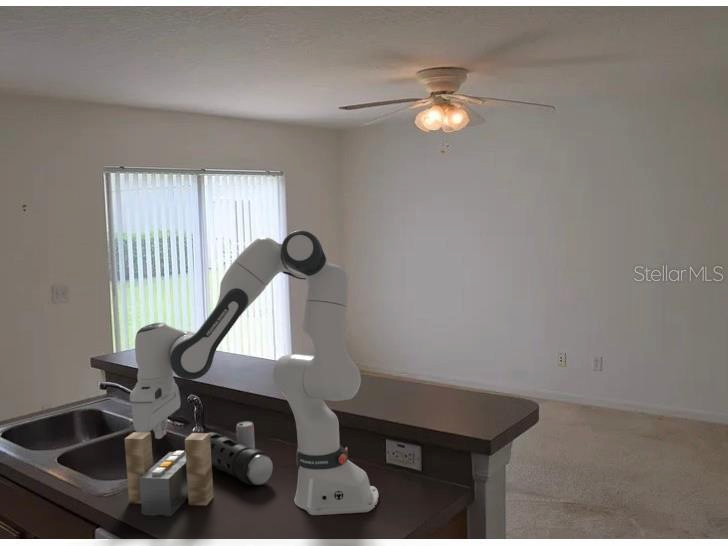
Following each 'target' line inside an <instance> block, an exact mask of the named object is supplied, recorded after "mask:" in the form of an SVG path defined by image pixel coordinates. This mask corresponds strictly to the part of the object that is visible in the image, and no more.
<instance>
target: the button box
mask: <svg viewBox="0 0 728 546" xmlns="http://www.w3.org/2000/svg"><path fill="white" fill-rule="evenodd" d="M139 480H140V494H141V503H140V504H141V515H142V514H154V515H153V516H156V515H164V516H163V517H172V516H173V514H175V513H176V512H177V510H179V508H180V507H181V506H182V505H183V504H184V503H185V502H186V500H187V499H188V484H187V468H186V453H185V450H176V451H169V452H168V453H167V454H166V455H165V456H163V457H162V458H161V459H159V461H158V462H156V463H155V464H153V467H152V468H150V469H149V470H148V471H147V472H146V473H145V474H143V475H142V476H141V477H140V478H139Z"/></svg>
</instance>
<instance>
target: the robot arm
mask: <svg viewBox="0 0 728 546" xmlns="http://www.w3.org/2000/svg"><path fill="white" fill-rule="evenodd" d="M280 273H282V274H285V275H287V276H291V277H293V278H296V279H298V280H305V281H307V294H306V301H305V308H304V313H303V318H302V319H303V320H302V326H301V327H302V332H303V334H304V335H305V336H306V338H308V339H309V340H310V341H311V342H312V344H313V349H314V355H311V354H302V353H294V354H293V353H292V354H288V355H282V356H280V357H279V358H278V359H277V361H276V362H275V364H274V365H273V368H272V381H273V384H274V386H275V388H276V389H278V390H279V391H280V393H282V394H283V396H284V398H285V399H286V400H287V402H288V404H289V407H290V408H291V411H292V413H293V416H294V420H295V426H296V434H297V437H296V438H297V449H296V455H295V456H296V466H297V467H296V468H297V471H298V473H297V485H296V492H295V496H294V504H295V505H296V506H297V507H298V508H300V509H303V510H305V511H306V512H307V513H308V514H309V515H310V516H322V515H340V514H357V513H360V514H361V513H368V512H370V511H372V510H374V508H375V507H376V506H377V504H378V502H379V499H378V498H380V497H379V491H378V489H377V487H376V486H374V485H370V479H369V477H368V474H367V472H366V470H363V469H362V468H360V467H359V466H358V465H356V464H355V463H354V462H352V461H350V460H349V458H348V446H346V447H343V446H342V445H341V444H340V430H339V429H340V425H339V419H338V416H337V415H336V414H335V412H334V411H333V410H332V409H330V407H328V405H327V404H326V403H325V401H332V402H335V401H346V400H351V399H353V398H354V397H355V396H356V395H357V393H358V391H359V389H360V386H361V383H362V376H361V371H360V369H359V368H358V366H357V364H356V363H355V362H354V361H353V360H352V358H351V357H350V355H349V353H348V349H347V347H346V343H345V325H346V316H347V315H346V314H347V309H348V308H347V307H348V302H349V301H348V298H349V279H348V278H349V277H348V276H349V275H348V273H347V271H346V270H345V269H344V268H343V267H342V266H341V265H338V264H335V263H329V262H327V257H326V253H325V252H324V249H323V246H322V244H321V242H320V240H319V238H317V236H315V234H313V233H311V232H309V231H307V230H296V231H292V232H290V233H288V235H286V237H285V238H284V240H283V241H282V243H279V242H277V241H276V240H274V239H272V238H269V237H267V236H261V237H257V238H256V239H255V240H254V241H253V242H252V243H250V244H249V245H248V246H247V247H246V248H245V249H244V250H243V251H241V253H240V254H239V255H238V256H237V258H235V260H234V261H233V262H232V263H231V264H230V266H229V268H228V269H226V272H225V274H224V275H223V278H222V279H221V281H220V286H219V287H220V288H219V296H218V300H217V303H216V305H215V307H214V309H213V311H211V312H210V314H209V315H208V317H207V318H206V320H204V322H203V323H202V325H201V326H200V327H199V328H198V330H197V331H196V332H193V331H187V330H181V329H177V328H176V327H175V328H174V327H172V326H170V325H168V324H166V323H165V322H155V323H151V324H147V325H145V326H142V327H141V328H140V329H139V330H138V331H137V332H136V334H135V338H134V339H135V340H134V352H135V362H136V364H137V368H138V369H137V370H138V371H137V375H136V376H137V382H136V383H135V386H134V387H133V389H132V391H131V392H130V394H129V401H130V402H131V403H132V405H131V416H132V423H133V429H134V430H135V432H148V433H151V431H152V430H153V433H154V438H155V439H158V440H160V439H162V438H163V437H164V436H166V435H167V426H168V422H169V421H168V420H169V419H168V417H170V416H171V415H173V414H174V413H175V412H176V411H177V410H179V409H180V408H181V396H180V395H181V394H180V390H179V386H178V384H177V383H176V380H175V379H174V374H175V375H176V376H177V377H180V378H181V379H182V380H183V379H184V380H190V381H191V380H197V379H200V378H202V377H204V376H205V375H206V374H207V373H208V372H209V371H210V369H211V366H212V365H213V361H214V357H215V354H216V351H217V349H218V347H219V345H221V342H222V341H223V340H224V338H225V337H226V335H228V333H229V332H230V330H231V329H232V328H233V327H234V326H235V324H236V322H237V320H238V319H239V318H240V316H241V315H242V314H243V313H244V312H245V311H246V310H247V309H248V308H249V306H250V305H252V304H253V302H255V300H256V299H257V298H258V297H259V296H260V295H261V294H262V293H263V292H264V290H265V289H266V288H267V286H269V284H270V283H271V282H272V280H273V279H274V278H275V277H276V276H277V275H278V274H280ZM324 400H325V401H324ZM375 505H376V506H375Z"/></svg>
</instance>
